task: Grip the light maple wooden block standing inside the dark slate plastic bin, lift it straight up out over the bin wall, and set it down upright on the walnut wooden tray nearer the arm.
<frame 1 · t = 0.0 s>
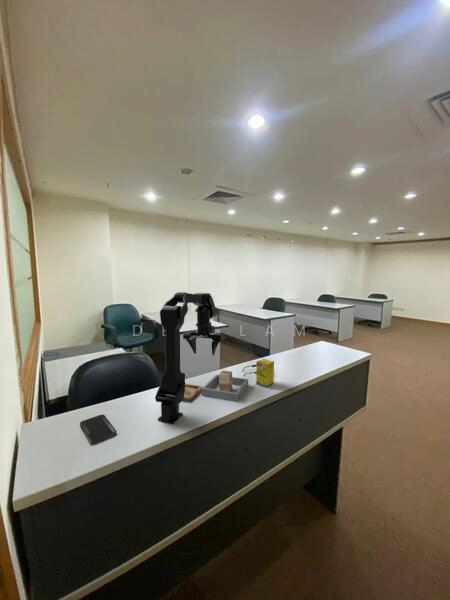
hand: (204, 354, 113), 15 cm above the table, fingers open, 9 cm apart
phone: (97, 430, 82), on the table
maple block: (225, 381, 109), in the slate bin
walnut tray: (183, 393, 107), on the table
sunglasses: (253, 374, 128), on the table
slate bin: (225, 390, 109), on the table
supplement box: (265, 384, 115), on the table
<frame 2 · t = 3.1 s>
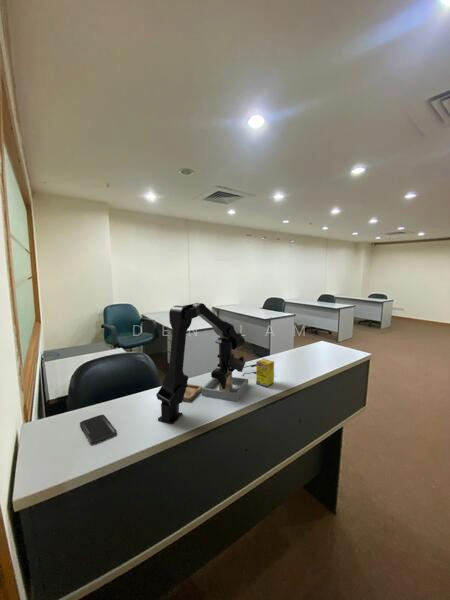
hand: (225, 386, 109), 2 cm above the table, fingers closed on maple block, 4 cm apart
maple block: (225, 381, 109), in the slate bin, touching gripper
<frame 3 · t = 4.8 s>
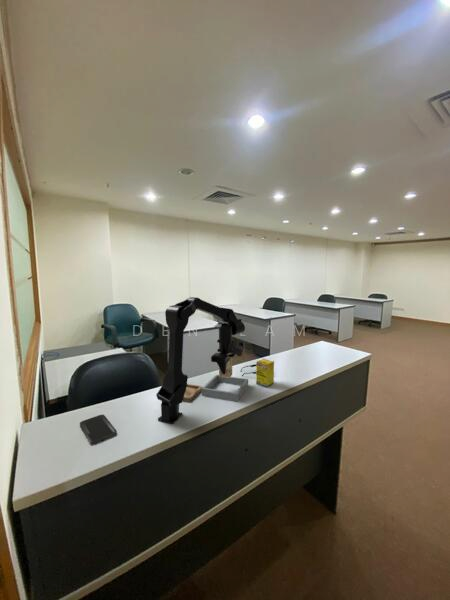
hand: (225, 371, 109), 8 cm above the table, fingers closed on maple block, 4 cm apart
maple block: (225, 366, 109), point 11 cm above the table, touching gripper
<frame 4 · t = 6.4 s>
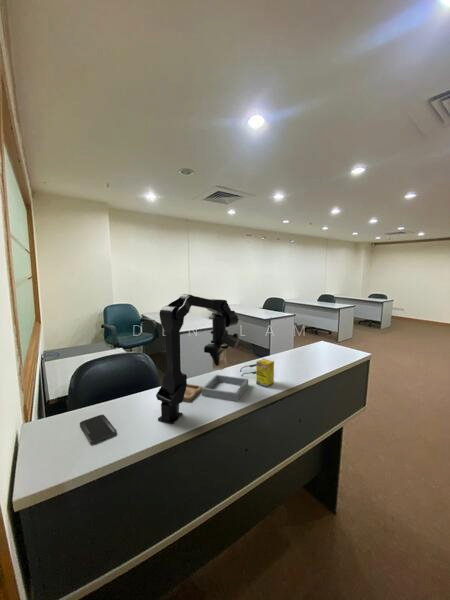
hand: (219, 363, 108), 12 cm above the table, fingers closed on maple block, 4 cm apart
maple block: (219, 358, 108), point 14 cm above the table, touching gripper
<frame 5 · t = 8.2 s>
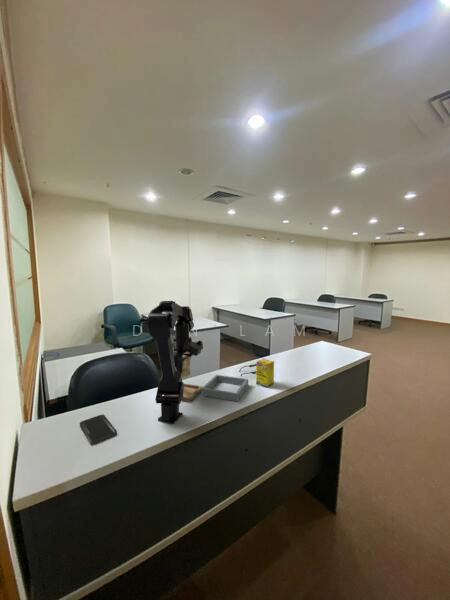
hand: (183, 371, 106), 10 cm above the table, fingers closed on maple block, 4 cm apart
maple block: (183, 366, 106), point 12 cm above the table, touching gripper
when the fingers open (4 cm above the table, at t = 9.9 s): maple block drops 1 cm, resting on walnut tray.
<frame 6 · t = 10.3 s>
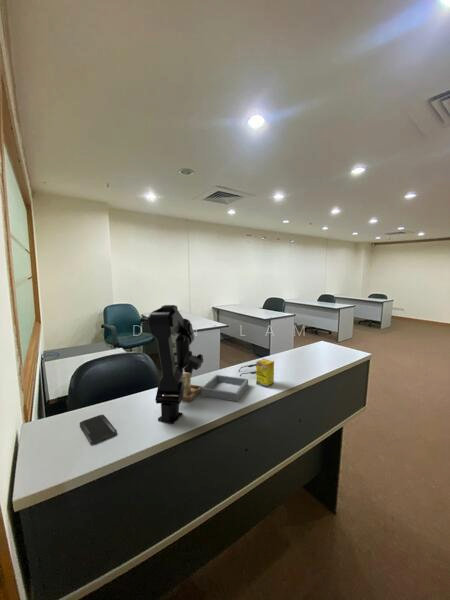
hand: (183, 385, 106), 4 cm above the table, fingers open, 8 cm apart
maple block: (183, 383, 106), point 5 cm above the table, touching walnut tray
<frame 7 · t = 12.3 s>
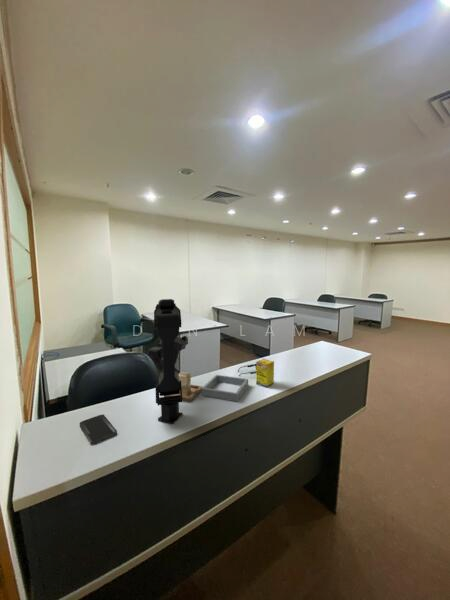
hand: (168, 367, 105), 12 cm above the table, fingers open, 9 cm apart
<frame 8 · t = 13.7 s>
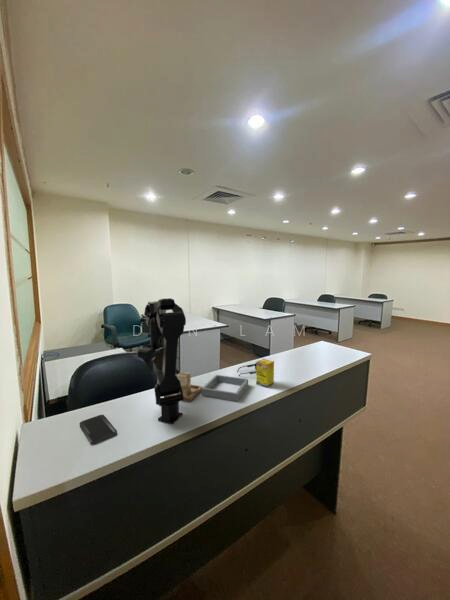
hand: (158, 367, 104), 12 cm above the table, fingers open, 9 cm apart
at the end: maple block 0.0 cm off-centre on the walnut tray, point 4.6 cm above the walnut tray's base; maple block tilted 0°; the gripper is holding nothing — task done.
